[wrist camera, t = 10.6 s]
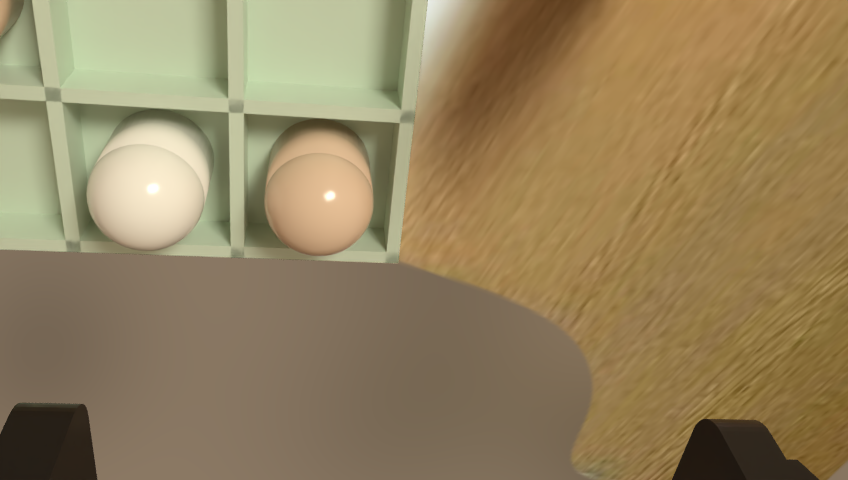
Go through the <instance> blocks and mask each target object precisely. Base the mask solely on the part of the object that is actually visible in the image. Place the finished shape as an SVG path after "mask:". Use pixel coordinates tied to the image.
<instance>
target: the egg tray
mask: <svg viewBox="0 0 848 480" xmlns="http://www.w3.org/2000/svg"><path fill="white" fill-rule="evenodd" d="M427 3H428V0H24V5H23V9H22V12H21V15H20V17H19V18H18V20H17V21H16V23H15V24H14V25H13V26H12V27H11V28H10V29H9V30H8V31H7V32H5V33H4V34H3V35H2V36H1V37H0V249H1V250H4V249H5V250H30V251H31V250H32V251H58V252H87V253H115V254H117V253H118V254H144V255H145V254H146V255H172V256H201V257H231V258H258V259H287V260H318V261H346V262H375V263H398V260H399V251H400V242H401V233H402V225H403V216H404V207H405V198H406V189H407V180H408V171H409V163H410V154H411V145H412V136H413V127H414V118H415V109H416V101H417V92H418V83H419V74H420V65H421V56H422V47H423V39H424V30H425V21H426V12H427ZM150 109H160V110H167V111H172V112H175V113H178V114H180V115H182V116H184V117H186V118H188V119H190V120H191V121H193V122H194V123H195V124H196V125H198V126H199V127H200V128H201V130H202V131H203V132H204V133H205V134H206V136H207V137H208V139H209V141H210V143H211V146H212V148H213V152H214V160H215V161H214V170H213V174H212V178H211V182H210V185H209V189H208V193H207V197H206V201H205V205H204V209H203V212H202V214H201V217H200V219H199V221H198V223H197V225H196V226H195V227H194V229H193V230H192V231H191V233H189V234H188V235H187V236H186V237H185V238H184V239H182V240H181V241H180V242H178V243H176V244H174V245H172V246H170V247H167V248H164V249H160V250H154V251H140V250H134V249H130V248H126V247H124V246H121V245H119V244H117V243H116V242H114V241H112V240H111V239H109V238H108V237H107V236H106V235H105V234H103V232H102V231H101V230H100V229H99V228H98V226H97V225H96V224H95V222H94V220H93V218H92V216H91V214H90V211H89V208H88V203H87V184H88V180H89V177H90V174H91V172H92V170H93V168H94V166H95V164H96V162H97V160H98V158H99V157H100V155H101V153H102V151H103V149H104V147H105V146H106V144H107V142H108V140H109V138H110V136H111V135H112V133H113V131H114V130H115V128H116V127H117V125H118V124H119V123H120V122H121V121H122V120H124V119H125V118H126V117H128V116H130V115H132V114H134V113H137V112H140V111H144V110H150ZM309 119H328V120H333V121H336V122H339V123H341V124H343V125H345V126H347V127H348V128H350V129H351V130H353V131H354V132H355V133H356V134H357V135H358V136H359V137H360V139H361V140H362V142H363V143H364V145H365V147H366V149H367V152H368V156H369V163H370V172H371V180H372V189H373V198H374V199H373V213H372V217H371V220H370V223H369V225H368V227H367V229H366V231H365V232H364V234H363V235H362V236H361V238H360V239H359V240H358V241H357V242H356V243H354V244H353V245H352V246H350V247H349V248H347V249H346V250H344V251H342V252H339V253H337V254H333V255H329V256H310V255H305V254H302V253H299V252H297V251H295V250H293V249H291V248H289V247H288V246H287V245H285V244H284V243H283V242H282V241H281V240H280V239H279V238H278V237H277V236H276V235H275V233H274V232H273V230H272V229H271V227H270V225H269V223H268V220H267V217H266V213H265V206H264V198H265V188H266V181H267V173H268V166H269V158H270V153H271V150H272V147H273V145H274V143H275V141H276V140H277V138H278V137H279V136H280V135H281V134H282V133H283V132H284V131H285V130H286V129H288V128H289V127H290V126H292V125H294V124H296V123H299V122H301V121H305V120H309Z"/></svg>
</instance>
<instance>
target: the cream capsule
mask: <svg viewBox="0 0 848 480" xmlns="http://www.w3.org/2000/svg"><path fill="white" fill-rule="evenodd" d="M214 161H215V160H214V152H213V148H212V146H211V143H210V141H209V139H208V137H207V136H206V134H205V133H204V132H203V131H202V130H201V128H200V127H199V126H198V125H196V124H195V123H194V122H193V121H191V120H190V119H188V118H186V117H184V116H182V115H180V114H178V113H175V112H172V111H167V110H160V109H150V110H144V111H140V112H137V113H134V114H132V115H130V116H128V117H126V118H125V119H124V120H122V121H121V122H120V123H119V124H118V125H117V127H116V128H115V130H114V131H113V133H112V135H111V136H110V138H109V140H108V142H107V144H106V146H105V147H104V149H103V151H102V153H101V155H100V157H99V158H98V160H97V162H96V164H95V166H94V168H93V170H92V172H91V174H90V177H89V180H88V184H87V203H88V208H89V211H90V214H91V216H92V218H93V220H94V222H95V224H96V225H97V226H98V228H99V229H100V230H101V231H102V232H103V234H105V235H106V236H107V237H108V238H109V239H111V240H112V241H114V242H116V243H117V244H119V245H121V246H124V247H126V248H130V249H134V250H140V251H154V250H160V249H164V248H167V247H170V246H172V245H174V244H176V243H178V242H180V241H181V240H182V239H184V238H185V237H186V236H187V235H188V234H189V233H191V231H192V230H193V229H194V227H195V226H196V225H197V223H198V221H199V219H200V217H201V214H202V212H203V209H204V205H205V201H206V197H207V193H208V189H209V185H210V182H211V178H212V174H213V170H214Z"/></svg>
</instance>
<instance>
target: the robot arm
mask: <svg viewBox="0 0 848 480" xmlns="http://www.w3.org/2000/svg"><path fill="white" fill-rule="evenodd" d="M0 480H97V474H96V467H95V460H94V453H93V446H92V439H91V432H90V424H89V417H88V411H87V408H86V406H85V405H84V404H56V403H18V404H17V405H15V406H14V408H13V409H12V411H11V413H10V414H9V416H8V419H7V421H6V423H5V425H4V427H3V430H2V432H1V434H0ZM672 480H819V479H818V478H817V477H816V476H815V475H813V474H812V473H811V472H810V471H809V470H808V469H807V468H806V467H805V466H804V465H802V464H801V463H800V462H799V461H798V460H786V458H785V456H784V455H783V453H782V451H781V450H780V448H779V447H778V445H777V443H776V442H775V440H774V438H773V437H772V435H771V434H770V432H769V430H768V429H767V428H766V427H765V426H764V425H763V424H762V423H761V422H759V421H757V420H728V419H703V420H701V421H699V422H698V423H697V424H696V426H695V428H694V430H693V432H692V434H691V437H690V439H689V441H688V444H687V446H686V448H685V451H684V453H683V455H682V458H681V460H680V462H679V465H678V467H677V469H676V472H675V474H674V476H673V479H672Z"/></svg>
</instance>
